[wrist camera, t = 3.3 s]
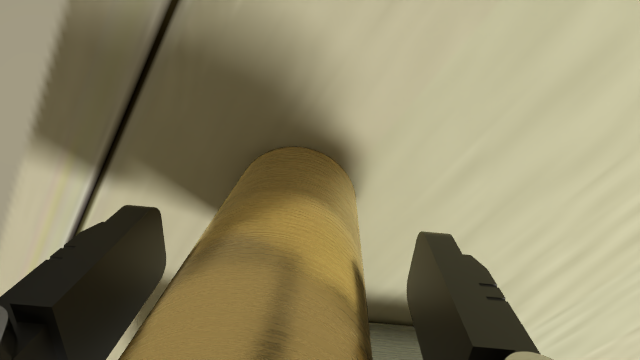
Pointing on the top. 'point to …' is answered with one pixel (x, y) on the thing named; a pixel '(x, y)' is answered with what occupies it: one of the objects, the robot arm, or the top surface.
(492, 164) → the top surface
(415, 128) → the top surface
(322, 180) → the brass cylinder
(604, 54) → the top surface
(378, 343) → the frame
